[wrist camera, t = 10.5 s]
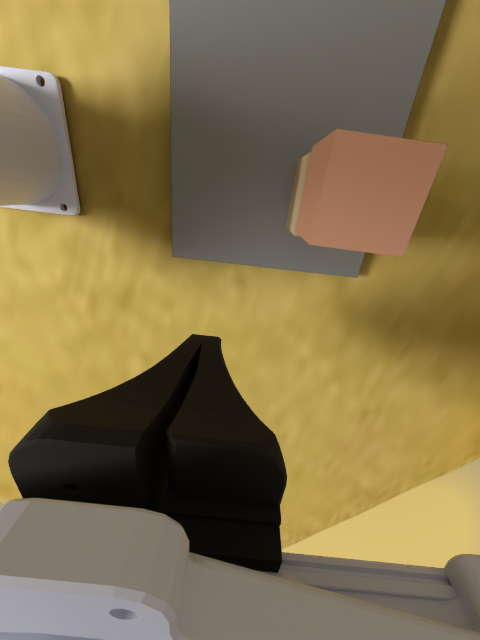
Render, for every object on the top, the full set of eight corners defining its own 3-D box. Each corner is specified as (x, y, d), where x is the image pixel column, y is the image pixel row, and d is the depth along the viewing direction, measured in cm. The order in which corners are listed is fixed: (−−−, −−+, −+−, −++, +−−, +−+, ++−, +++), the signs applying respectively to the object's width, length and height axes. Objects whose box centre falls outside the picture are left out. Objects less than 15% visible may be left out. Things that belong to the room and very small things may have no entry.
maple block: (285, 226, 18) (294, 235, 15) (297, 160, 16) (310, 151, 13) (342, 233, 18) (364, 243, 15) (360, 167, 16) (390, 161, 13)
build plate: (176, 253, 20) (172, 256, 19) (174, -200, 11) (166, -240, 10) (351, 273, 21) (357, 277, 20) (484, -157, 12) (507, -192, 11)
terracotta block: (294, 231, 14) (309, 244, 11) (312, 146, 13) (337, 128, 9) (365, 241, 15) (402, 257, 11) (392, 157, 13) (448, 144, 9)
